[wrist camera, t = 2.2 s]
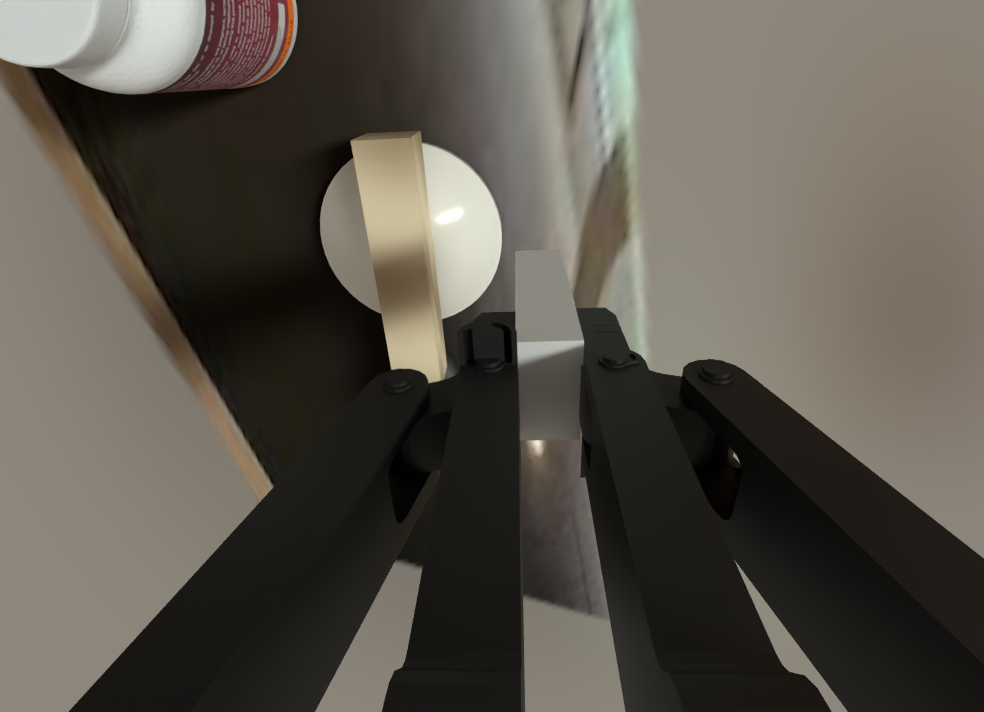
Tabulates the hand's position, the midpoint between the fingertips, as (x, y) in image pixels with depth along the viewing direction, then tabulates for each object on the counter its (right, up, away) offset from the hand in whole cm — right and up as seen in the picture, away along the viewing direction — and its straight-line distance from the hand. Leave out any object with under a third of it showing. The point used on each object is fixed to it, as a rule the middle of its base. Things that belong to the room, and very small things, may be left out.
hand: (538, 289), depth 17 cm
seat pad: (-6, +4, +9) cm, 11 cm away
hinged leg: (-5, +2, +10) cm, 11 cm away
